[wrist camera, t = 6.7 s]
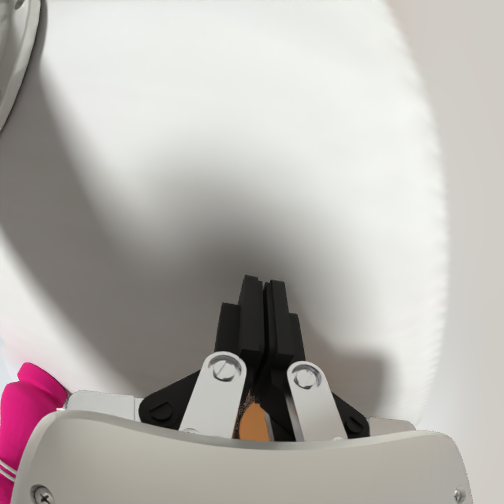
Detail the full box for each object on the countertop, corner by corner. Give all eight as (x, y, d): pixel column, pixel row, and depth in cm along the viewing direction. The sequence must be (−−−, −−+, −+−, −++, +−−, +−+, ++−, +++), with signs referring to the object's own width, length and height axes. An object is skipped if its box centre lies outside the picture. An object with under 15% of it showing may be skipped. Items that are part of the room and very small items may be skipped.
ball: (253, 449, 18) (212, 410, 17) (309, 407, 20) (278, 362, 19) (287, 494, 12) (241, 462, 11) (354, 441, 14) (327, 397, 13)
